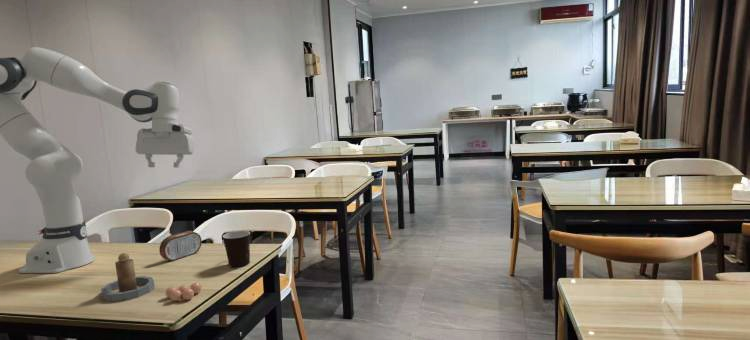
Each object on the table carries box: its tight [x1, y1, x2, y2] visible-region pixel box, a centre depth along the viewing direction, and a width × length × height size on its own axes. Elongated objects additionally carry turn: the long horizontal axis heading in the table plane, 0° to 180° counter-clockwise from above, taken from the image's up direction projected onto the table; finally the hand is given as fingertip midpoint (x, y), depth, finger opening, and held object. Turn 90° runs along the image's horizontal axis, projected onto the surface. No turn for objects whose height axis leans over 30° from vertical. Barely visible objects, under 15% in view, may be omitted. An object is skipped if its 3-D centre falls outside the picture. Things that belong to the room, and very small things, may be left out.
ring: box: [101, 275, 155, 302], centre depth 141 cm, size 13×13×2 cm
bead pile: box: [165, 282, 202, 302], centre depth 134 cm, size 9×7×3 cm
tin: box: [159, 230, 202, 261], centre depth 170 cm, size 15×3×8 cm, turn 144°
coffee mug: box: [222, 230, 251, 269], centre depth 160 cm, size 12×9×10 cm
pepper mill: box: [114, 252, 138, 292], centre depth 140 cm, size 5×5×12 cm
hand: (163, 167), depth 173 cm, fingers open, 8 cm apart
